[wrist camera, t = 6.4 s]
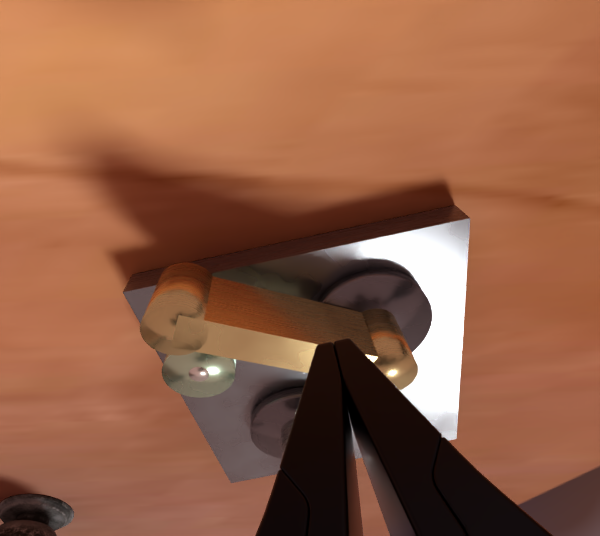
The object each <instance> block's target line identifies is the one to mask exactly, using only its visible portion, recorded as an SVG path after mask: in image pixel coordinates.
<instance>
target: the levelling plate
mask: <svg viewBox="0 0 600 536" xmlns="http://www.w3.org/2000/svg"><path fill="white" fill-rule="evenodd" d="M469 229H470V218H469V217H468V216H467V215H466V214H465V213H464V212H462V211H461V210H460V209H459V208H458V207H457V206H456V205H454V206H449V207H445V208H440V209H435V210H431V211H426V212H421V213H417V214H412V215H407V216H403V217H398V218H393V219H389V220H384V221H379V222H375V223H370V224H365V225H361V226H356V227H351V228H347V229H342V230H338V231H333V232H328V233H324V234H319V235H314V236H310V237H305V238H300V239H296V240H291V241H286V242H282V243H277V244H272V245H268V246H263V247H258V248H254V249H249V250H244V251H240V252H235V253H231V254H226V255H221V256H217V257H212V258H207V259H203V260H198V261H193V262H189V263H194V264H197V265H200V266H202V267H204V268H205V269H207V270H208V271H209V272H210V273H211V274H212V276H214V277H218V278H222V279H226V280H230V281H234V282H238V283H242V284H247V285H251V286H255V287H259V288H263V289H267V290H271V291H275V292H280V293H284V294H288V295H292V296H296V297H300V298H304V299H309V300H313V301H318V299H319V298H320V296H321V295H322V294H323V293H324V292H325V291H326V290H327V289H328V288H329V287H330V286H331V285H333V284H334V283H335V282H337V281H338V280H340V279H342V278H344V277H346V276H348V275H350V274H353V273H356V272H359V271H363V270H370V269H389V270H394V271H398V272H400V273H403V274H405V275H407V276H409V277H410V278H412V279H413V280H415V281H416V282H417V283H418V284H419V285H420V287H421V288H422V290H423V291H424V293H425V295H426V296H427V298H428V299H429V302H430V304H431V307H432V315H433V317H432V324H431V327H430V330H429V332H428V334H427V336H426V338H425V339H424V341H423V342H422V343H421V345H420V346H419V347H418V348H417V349H416V350H415V351H413V352H412V354H413V356H414V358H415V360H416V363H417V365H418V374H417V376H416V378H415V380H414V381H413V382H412V383H411V384H410V385H409V386H407V387H406V388H404V389H402V390H400V391H401V392H402V393H403V394H404V395H405V397H406V398H407V399H408V400H409V401H410V402H411V403H412V404H413V405H414V406H415V407H416V408H417V409H418V410H419V411H420V412H421V413H422V414H423V415H424V416H425V417H426V418H427V419H428V421H429V422H430V423H431V424H432V425H433V426H434V427H435V428H436V429H437V430H438V431H439V432H440V433H441V434H442V437H445V438H446V439H447V440H453V439H456V438H457V422H458V406H459V390H460V374H461V357H462V341H463V325H464V309H465V293H466V277H467V261H468V245H469ZM166 268H168V267H165V268H161V269H156V270H151V271H147V272H142V273H137V274H133V275H132V277H131V278H130V280H129V282H128V284H127V286H126V287H125V289H124V291H123V294H124V295H125V297H126V299H127V301H128V302H129V304H130V306H131V308H132V309H133V311H134V313H135V315H136V317H137V318H138V320H139V322H140V324H141V321H142V318H143V316H144V314H145V311H146V309H147V307H148V304H149V302H150V300H151V297H152V295H153V293H154V290H155V288H156V286H157V283H158V281H159V279H160V276H161V274H162V273H163V271H164V270H165V269H166ZM156 352H157V353H158V355H159V357H160V359H161V361H162V362H163V367H162V376H163V379H164V381H165V382H166V384H167V385H168V386H169V387H170V388H171V389H173V390H174V391H176V392H178V393H180V394H181V396H182V397H183V399H184V401H185V403H186V405H187V406H188V408H189V410H190V412H191V413H192V415H193V417H194V419H195V420H196V422H197V424H198V426H199V427H200V429H201V431H202V433H203V434H204V436H205V438H206V440H207V442H208V443H209V445H210V447H211V449H212V450H213V452H214V454H215V456H216V457H217V459H218V461H219V463H220V464H221V466H222V468H223V470H224V471H225V473H226V475H227V477H228V478H229V480H230V482H231V483H234V482H239V481H244V480H249V479H254V478H259V477H265V476H270V475H275V474H277V473H278V470H280V464H281V460H282V459H281V458H277V457H273V456H270V455H268V454H266V453H264V452H262V451H261V450H260V449H258V448H257V447H256V446H255V444H254V443H253V441H252V439H251V434H250V425H251V416H252V413H253V412H254V410H255V408H256V407H257V406H258V405H259V404H260V403H261V402H262V401H263V400H264V399H266V398H267V397H269V396H271V395H273V394H275V393H277V392H280V391H283V390H287V389H292V388H301V387H304V385H305V382H306V378H307V375H308V373H305V372H300V371H295V370H289V369H284V368H279V367H274V366H268V365H263V364H258V363H252V362H247V361H242V360H236V359H231V358H226V357H220V356H215V355H210V354H205V353H199V352H193V353H190V354H186V355H168V354H164V353H161V352H159V351H157V350H156ZM350 422H351V421H350ZM351 427H352V425H351ZM352 434H353V442H354V451H355V459H356V458H361V457H362V455H361V452H360V449H359V447H358V444H357V441H356V438H355V435H354V432H353V429H352Z"/></svg>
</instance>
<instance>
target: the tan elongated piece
mask: <svg viewBox="0 0 600 536" xmlns="http://www.w3.org/2000/svg"><path fill="white" fill-rule="evenodd" d="M432 317H433V315H432V307H431V304H430V302H429V299H428V298H427V296H426V295H425V293H424V291H423V290H422V288H421V287H420V285H419V284H418V283H417V282H416V281H415V280H413V279H412V278H410V277H409V276H407V275H405V274H403V273H400V272H398V271H394V270H389V269H370V270H363V271H359V272H356V273H353V274H350V275H348V276H346V277H344V278H342V279H340V280H338V281H337V282H335V283H334V284H333V285H331V286H330V287H329V288H328V289H327V290H326V291H325V292H324V293H323V294H322V295H321V296H320V298H319V299H318V301H313V300H309V299H304V298H300V297H296V296H292V295H288V294H284V293H280V292H275V291H271V290H267V289H263V288H259V287H255V286H251V285H247V284H242V283H238V282H234V281H230V280H226V279H222V278H218V277H214V276H212V274H211V273H210V272H209V271H208V270H207V269H205V268H204V267H202V266H200V265H197V264H194V263H187V262H182V263H177V264H173V265H171V266H169V267H168V268H166V269H165V270H164V271H163V273H162V274H161V276H160V279H159V281H158V283H157V286H156V288H155V290H154V293H153V295H152V297H151V300H150V302H149V304H148V307H147V309H146V311H145V314H144V316H143V318H142V321H141V324H140V332H141V335H142V338H143V339H144V341H145V342H146V343H147V344H148V345H149V346H150V347H152V348H153V349H155V350H157V351H159V352H161V353H164V354H168V355H186V354H190V353H193V352H199V353H205V354H210V355H215V356H220V357H226V358H231V359H236V360H242V361H247V362H252V363H258V364H263V365H268V366H274V367H279V368H284V369H289V370H295V371H300V372H305V373H308V372H309V368H310V365H311V362H312V359H313V355H314V352H315V349H316V346H317V345H319V344H323V343H328V342H332V343H333V344H334V342H335V341H337V340H342V339H347V338H348V339H351V340H352V341H353V342H354V343H355V344H356V345H357V346H358V348H359V349H360V350H361V351H362V352H363V353H364V354H365V355H366V356H367V357H368V358H369V359H370V360H371V361H372V362H373V363H374V364H375V365H376V366H377V367H378V368H379V369H380V370H381V372H382V373H383V374H384V375H385V376H386V377H387V378H388V379H389V380H390V381H391V382H392V383H393V384H394V385H395V386H396V387H397V388H398V389H399V390H402V389H404V388H406V387H407V386H409V385H410V384H411V383H412V382H413V381H414V380H415V378H416V376H417V374H418V365H417V363H416V360H415V358H414V356H413V354H412V352H413V351H415V350H416V349H417V348H418V347H419V346H420V345H421V343H422V342H423V341H424V339H425V338H426V336H427V334H428V332H429V330H430V327H431V324H432Z"/></svg>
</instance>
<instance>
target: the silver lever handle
mask: <svg viewBox="0 0 600 536" xmlns="http://www.w3.org/2000/svg"><path fill="white" fill-rule="evenodd" d="M303 388H304V387H301V388H292V389H287V390H283V391H280V392H277V393H275V394H273V395H271V396H269V397H267V398H266V399H264V400H263V401H262V402H261V403H260V404H259V405H258V406H257V407H256V408H255V410H254V412H253V413H252V416H251V425H250V434H251V439H252V441H253V443H254V444H255V446H256V447H257V448H258V449H260V450H261V451H262V452H264V453H266V454H268V455H270V456H273V457H277V458H281V459H282V457H283V454H284V451H285V447H286V444H287V441H288V437H289V434H290V431H291V428H292V424H293V421H294V418H295V414H296V411H297V408H298V405H299V401H300V398H301V395H302V391H303Z"/></svg>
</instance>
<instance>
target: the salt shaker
mask: <svg viewBox="0 0 600 536" xmlns="http://www.w3.org/2000/svg"><path fill="white" fill-rule="evenodd" d="M73 517H74V511H73V510H72V508H71V507H70V506H69V505H68V504H67V503H65V502H63V501H61V500H59V499H56V498H53V497H50V496H44V495H36V494H24V495H17V496H12V497H9V498H7V499H5V500H3V501H2V502H1V503H0V518H1V520H2V521H3V522H4V524H2V525H0V536H57V535H56V533H55V530H57V529H59V528H62V527H64V526H66V525H68V524H69V523H70V522H71V521H72V519H73Z"/></svg>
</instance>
